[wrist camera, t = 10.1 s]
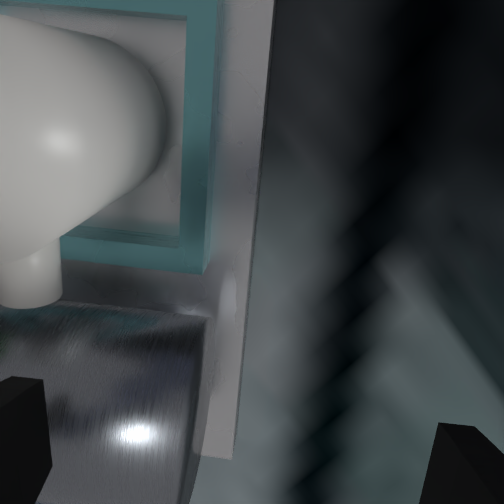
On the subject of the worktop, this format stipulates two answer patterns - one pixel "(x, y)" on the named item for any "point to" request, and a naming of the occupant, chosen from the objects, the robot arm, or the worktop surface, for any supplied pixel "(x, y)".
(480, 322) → the worktop surface
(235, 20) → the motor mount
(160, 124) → the grey rounded piece
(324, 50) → the worktop surface
